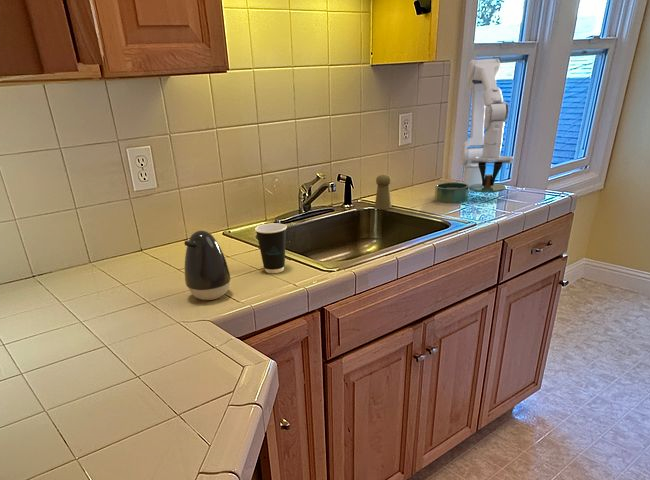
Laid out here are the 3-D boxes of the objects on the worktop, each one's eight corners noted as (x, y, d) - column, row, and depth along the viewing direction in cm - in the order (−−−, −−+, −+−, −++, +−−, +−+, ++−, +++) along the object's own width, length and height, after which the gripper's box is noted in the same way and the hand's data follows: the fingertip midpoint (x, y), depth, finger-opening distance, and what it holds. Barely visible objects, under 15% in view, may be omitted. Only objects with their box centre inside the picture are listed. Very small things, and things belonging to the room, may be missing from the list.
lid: (468, 186, 183) (470, 171, 180) (505, 186, 179) (507, 171, 177) (468, 193, 173) (469, 178, 170) (506, 194, 169) (508, 178, 167)
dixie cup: (272, 277, 124) (267, 233, 118) (253, 270, 129) (248, 228, 124) (296, 269, 128) (293, 226, 123) (277, 262, 134) (273, 221, 128)
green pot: (435, 197, 188) (436, 182, 185) (467, 197, 185) (469, 182, 182) (433, 204, 178) (434, 189, 176) (466, 205, 175) (468, 189, 172)
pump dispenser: (178, 301, 114) (165, 235, 106) (206, 285, 122) (196, 223, 114) (214, 307, 110) (203, 239, 102) (241, 290, 117) (232, 226, 110)
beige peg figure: (371, 207, 181) (371, 175, 176) (385, 204, 183) (386, 172, 178) (380, 210, 176) (381, 177, 171) (394, 207, 178) (395, 175, 173)
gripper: (469, 145, 167) (465, 187, 174) (516, 144, 163) (510, 187, 170) (470, 142, 173) (466, 183, 180) (515, 141, 169) (509, 183, 176)
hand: (487, 185), depth 175 cm, fingers closed on lid, 2 cm apart
